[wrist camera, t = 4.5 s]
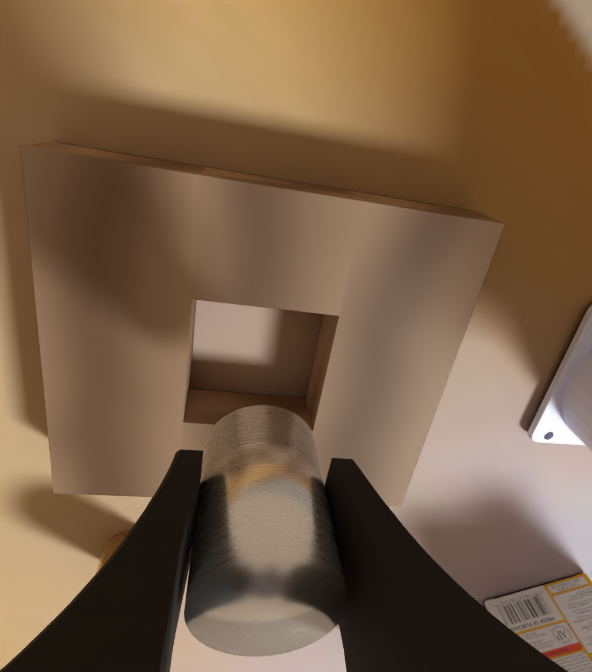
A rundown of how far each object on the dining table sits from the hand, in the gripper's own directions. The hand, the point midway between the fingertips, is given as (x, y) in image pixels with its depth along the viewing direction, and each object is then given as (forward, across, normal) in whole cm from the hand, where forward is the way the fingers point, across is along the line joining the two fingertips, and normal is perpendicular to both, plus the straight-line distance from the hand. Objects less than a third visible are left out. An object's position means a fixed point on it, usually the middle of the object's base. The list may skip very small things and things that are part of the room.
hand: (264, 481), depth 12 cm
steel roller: (+2, 0, 0) cm, 2 cm away
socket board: (+8, 0, 0) cm, 8 cm away
